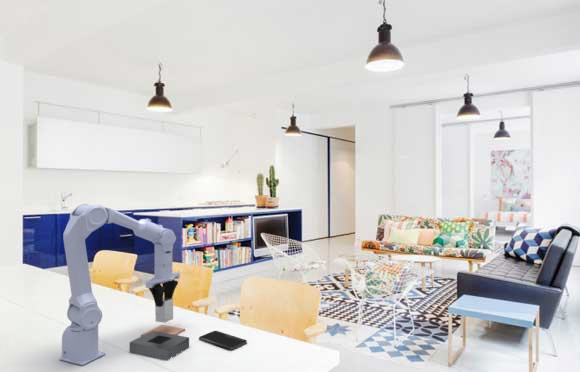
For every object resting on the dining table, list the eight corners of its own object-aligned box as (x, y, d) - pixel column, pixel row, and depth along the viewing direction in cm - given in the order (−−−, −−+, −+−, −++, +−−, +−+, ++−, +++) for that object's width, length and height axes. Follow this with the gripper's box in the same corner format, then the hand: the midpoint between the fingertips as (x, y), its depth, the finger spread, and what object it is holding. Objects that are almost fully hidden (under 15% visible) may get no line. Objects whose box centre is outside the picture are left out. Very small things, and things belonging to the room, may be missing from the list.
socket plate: (129, 352, 118) (129, 342, 118) (153, 340, 128) (153, 330, 128) (167, 360, 113) (167, 349, 113) (189, 347, 122) (189, 337, 122)
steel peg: (155, 321, 132) (155, 300, 132) (163, 317, 136) (163, 297, 136) (165, 322, 131) (164, 301, 131) (173, 318, 134) (172, 298, 135)
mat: (140, 336, 131) (140, 334, 131) (161, 326, 140) (161, 324, 140) (165, 340, 127) (165, 339, 127) (185, 330, 136) (185, 328, 136)
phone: (230, 349, 119) (197, 337, 128) (230, 352, 119) (197, 340, 128) (248, 340, 126) (215, 330, 135) (248, 344, 126) (215, 333, 135)
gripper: (157, 269, 125) (157, 312, 125) (186, 260, 139) (186, 299, 139) (140, 267, 128) (140, 309, 128) (170, 259, 141) (170, 297, 141)
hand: (163, 304), depth 134 cm, fingers closed on steel peg, 4 cm apart
